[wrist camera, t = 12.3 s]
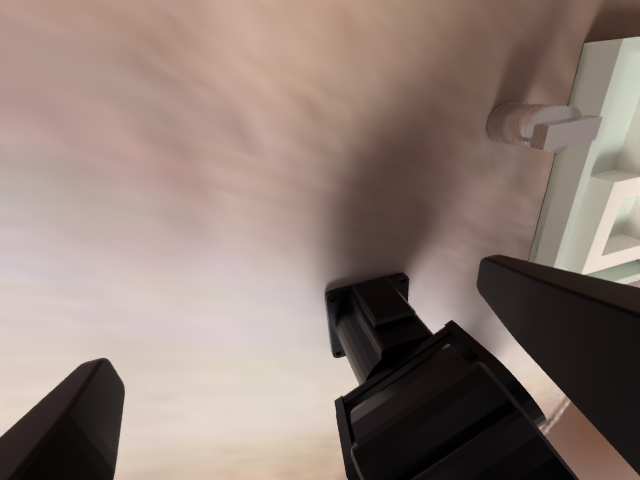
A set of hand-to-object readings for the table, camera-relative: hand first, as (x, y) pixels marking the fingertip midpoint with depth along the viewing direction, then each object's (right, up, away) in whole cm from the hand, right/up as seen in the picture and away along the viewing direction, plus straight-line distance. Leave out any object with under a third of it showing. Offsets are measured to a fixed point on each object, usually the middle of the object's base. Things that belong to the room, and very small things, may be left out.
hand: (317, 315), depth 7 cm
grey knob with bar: (+12, +10, +13) cm, 20 cm away
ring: (+24, +7, +17) cm, 31 cm away
